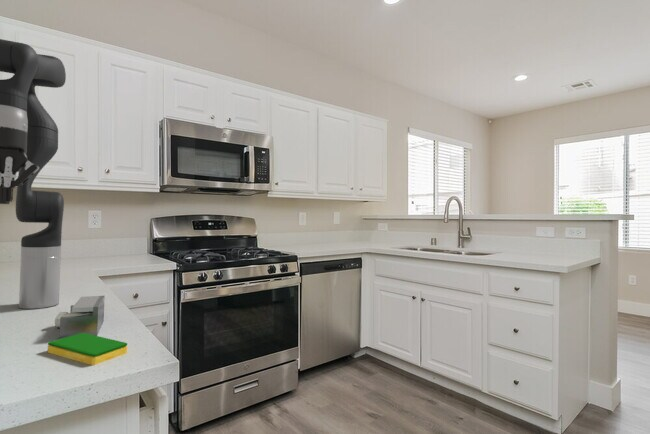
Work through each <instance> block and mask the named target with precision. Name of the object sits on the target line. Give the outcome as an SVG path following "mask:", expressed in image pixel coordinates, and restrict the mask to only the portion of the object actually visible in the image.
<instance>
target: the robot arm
mask: <svg viewBox="0 0 650 434" xmlns="http://www.w3.org/2000/svg"><path fill="white" fill-rule="evenodd" d="M0 72H2V73H8V74H12V77H9V78H4V79H0V205H9V204H10V203H11V202H13V200H14V189H15V188H16V187H17V188H16V198H15V215H16V218H17V221H19V223H20V222H21V223H28V224H29V223H30V224H31V223H34V224H35V223H39V224H40V223H41V224H43V223H45V224H46V223H48V224H47V226H46V227H45V228H44V229H41V230H39V231H38V232H33V233H31V234H27V235H24V236H22V237H21V241H20V263H19V264H20V266H19V268H20V269H19V271H20V272H19V292H18V307H19V308H20V309H27V310H28V309H29V310H30V309H43V308H49V307H53V306H57V305H58V304H60V288H61V287H60V285H61V284H60V283H61V262H62V260H61V258H62V254H61V253H62V234H63V233H62V232H63V231H62V229H63V219H64V218H63V217H64V211H65V210H64V208H65V201H64V200H65V199H64V196H63V194H62V193H61V192H58V191H49V190H48V191H47V190H33V189H32V186H33V183H34V180H35V179H36V178H37V176H38V175H39V173H40V172H41V171H42V169H44V167H45V166H46V165H47V164H48V163H49V162H50V161H51V160H52V159H53V158H54V156H55V155H56V153H57V152H58V149H59V129H58V126H57V124H56V122H55V121H54V119H53V118H52V116H51V115H50V114H49V112H48V111H47V110H46V109H45V107H44V106H43V104H42V103H41V101H40V100H39V98H38V97H37V94H36V93H37V92H36V87H44V88H53V89H55V88H63V86H64V85H65V84H66V81H67V80H66V77H67V75H66V74H67V73H66V68H65V65H64V63H63V61H62V60H61V59H60V58H58V57H56V56H54V55H53V56H52V55H47V54H42V53H41V54H39V53H37V52H36V50H35V49H34V48H33V47H32V46H31V45H30V44H27V43H23V42H18V41H13V40H9V39H1V38H0ZM17 173H18V175H17Z"/></svg>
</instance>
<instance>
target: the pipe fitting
mask: <svg viewBox="0 0 650 434" xmlns="http://www.w3.org/2000/svg"><path fill="white" fill-rule="evenodd" d="M82 315H93V313H86V314H85V313H70V312H68V311H67V312H66V311H60V312H58V314H57V315H56V316H55V318H54V326H55V327H56V328H60V318H61V317H68V316H82Z"/></svg>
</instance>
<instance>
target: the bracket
mask: <svg viewBox="0 0 650 434" xmlns="http://www.w3.org/2000/svg"><path fill="white" fill-rule="evenodd" d="M69 313H85V314H86V313H93V315H82V316H68V317H61V318H60V327H59V339H62V338H65V337H69V336H73V335H76V334H80V333H86V334H91V335H95V336H98V335H99V332H100V330H101V328H102V325H103V323H104V321H105V295H92V296H91V295H89V296H81V297H80V298H79V299H78V300H77V301H76V302H75V304H73V305H72V304H71V305H70V312H69Z"/></svg>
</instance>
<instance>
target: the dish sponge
mask: <svg viewBox="0 0 650 434" xmlns="http://www.w3.org/2000/svg"><path fill="white" fill-rule="evenodd" d="M47 353H49V354H52V355H55V356H59V357H62V358H66V359H69V360H73V361H76V362H80V363H82V364H86V365H87V364H88V365H91V366H95V365H96V366H97V365H98V364H101V363H104V362H107V361H109V360H112V359H115V358H118V357H120V356H124V355H125V354H126V355H127V353H128V342H124V341H120V340H115V339H111V338H108V337H104V336H98V335H96V336H95V335H91V334H86V333H80V334H76V335H73V336H69V337H65V338H62V339H60V338H59V339H58V338H57V339H55V340H52V341H48V342H47Z"/></svg>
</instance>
